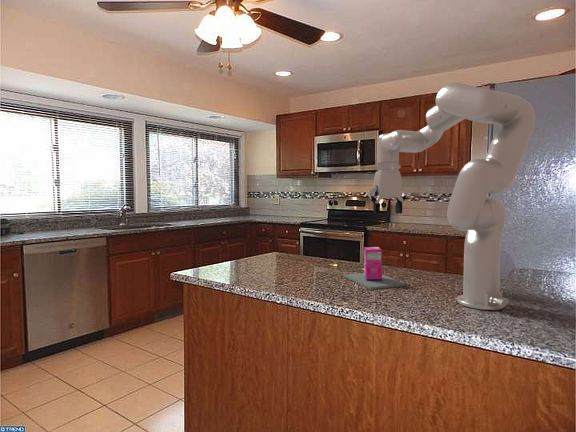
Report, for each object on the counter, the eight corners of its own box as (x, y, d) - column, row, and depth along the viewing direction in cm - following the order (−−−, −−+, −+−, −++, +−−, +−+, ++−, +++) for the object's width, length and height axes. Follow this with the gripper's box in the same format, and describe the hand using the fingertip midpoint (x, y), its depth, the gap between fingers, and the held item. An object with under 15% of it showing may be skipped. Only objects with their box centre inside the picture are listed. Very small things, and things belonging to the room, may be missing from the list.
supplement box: (363, 277, 144) (363, 246, 143) (379, 277, 143) (380, 247, 142) (365, 280, 138) (366, 249, 137) (382, 281, 138) (382, 249, 137)
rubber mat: (405, 285, 134) (405, 283, 134) (370, 289, 129) (370, 287, 129) (375, 273, 153) (375, 271, 153) (343, 276, 148) (343, 274, 148)
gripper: (401, 168, 149) (400, 212, 150) (362, 168, 143) (362, 213, 144) (413, 167, 142) (413, 213, 143) (373, 166, 136) (373, 215, 137)
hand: (387, 213), depth 143 cm, fingers open, 9 cm apart
